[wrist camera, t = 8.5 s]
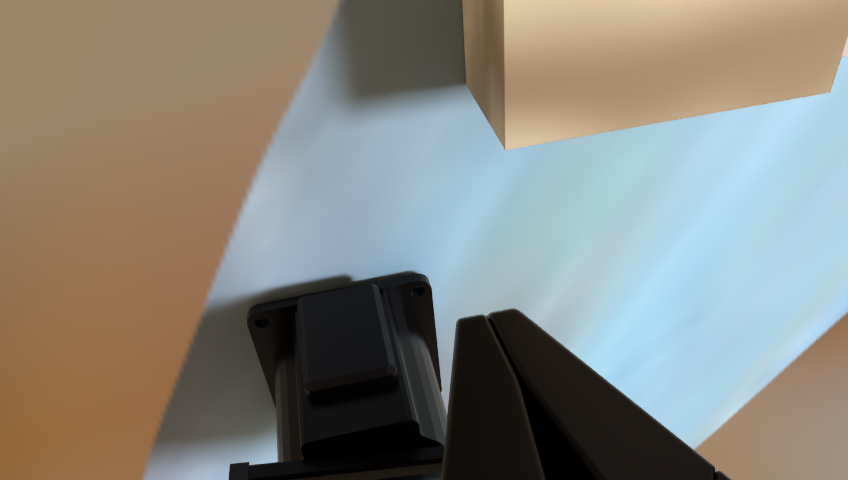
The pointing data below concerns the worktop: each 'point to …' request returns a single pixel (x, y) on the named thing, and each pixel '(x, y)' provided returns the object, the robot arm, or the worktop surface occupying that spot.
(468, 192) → the worktop surface
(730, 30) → the board
